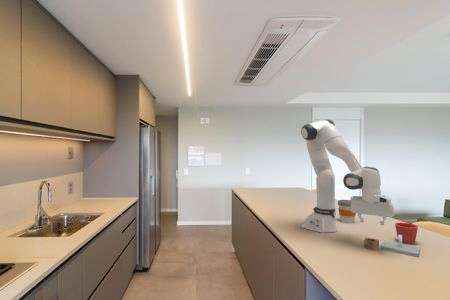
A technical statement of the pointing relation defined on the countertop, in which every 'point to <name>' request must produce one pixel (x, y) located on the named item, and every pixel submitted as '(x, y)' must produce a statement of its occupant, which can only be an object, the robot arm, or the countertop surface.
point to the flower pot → (407, 232)
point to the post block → (400, 247)
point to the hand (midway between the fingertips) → (371, 223)
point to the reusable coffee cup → (346, 211)
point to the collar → (371, 243)
